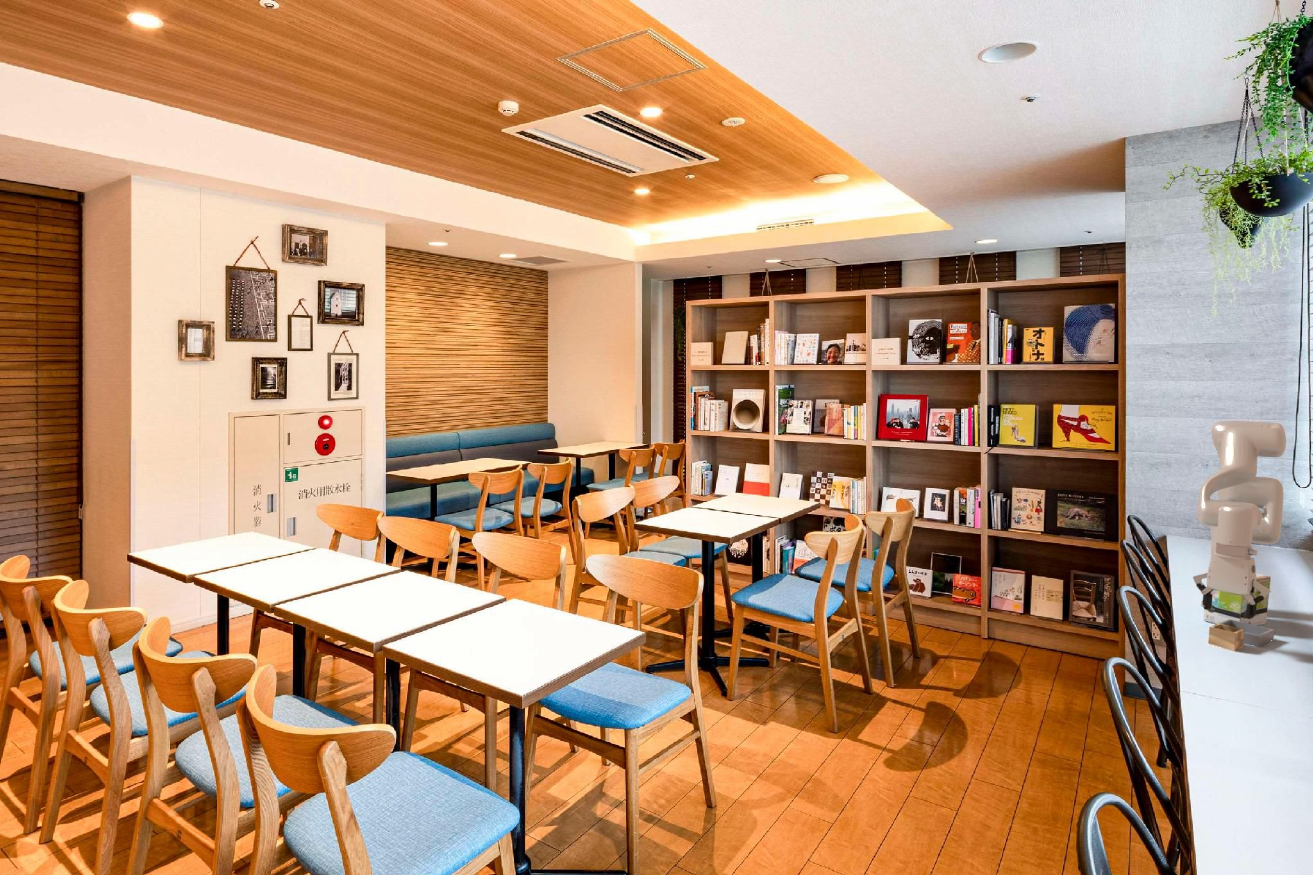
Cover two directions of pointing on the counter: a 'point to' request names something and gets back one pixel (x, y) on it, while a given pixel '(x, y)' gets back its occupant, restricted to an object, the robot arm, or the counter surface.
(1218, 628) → the oak crate
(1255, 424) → the robot arm
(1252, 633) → the grey square tray
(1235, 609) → the tea box
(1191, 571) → the counter surface
